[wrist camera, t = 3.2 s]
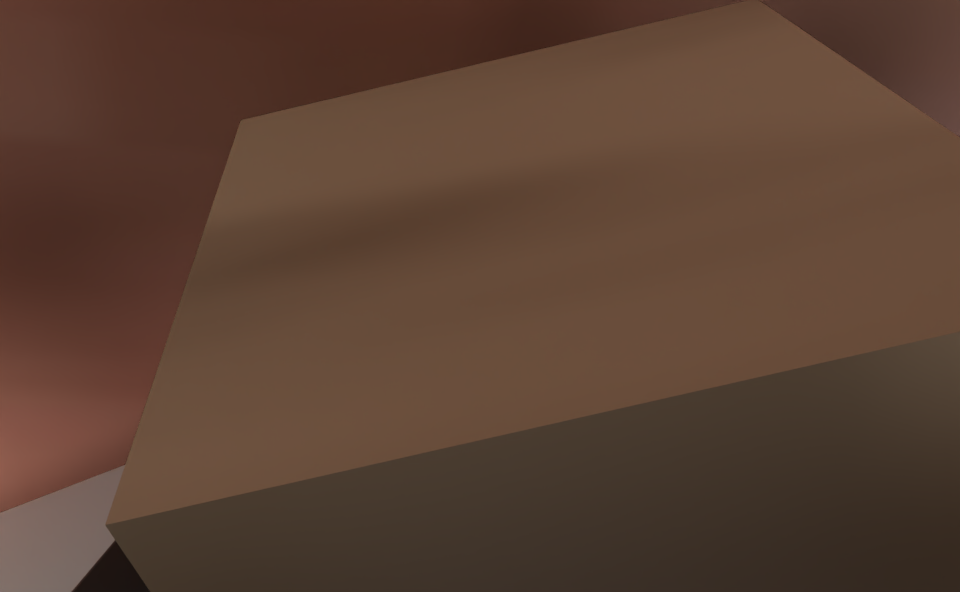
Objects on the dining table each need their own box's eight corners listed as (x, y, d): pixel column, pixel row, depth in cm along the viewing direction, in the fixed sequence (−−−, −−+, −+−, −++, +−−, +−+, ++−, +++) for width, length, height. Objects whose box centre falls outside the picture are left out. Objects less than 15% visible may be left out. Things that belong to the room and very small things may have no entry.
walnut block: (762, 393, 11) (1008, 806, 7) (379, 479, 11) (384, 938, 7) (755, -1, 8) (1172, 282, 4) (240, 120, 8) (105, 526, 4)
